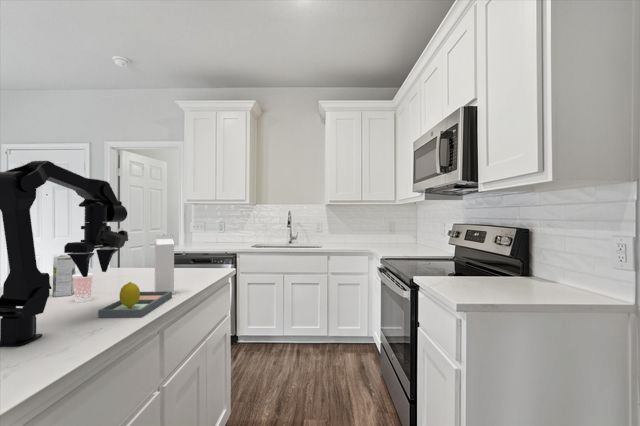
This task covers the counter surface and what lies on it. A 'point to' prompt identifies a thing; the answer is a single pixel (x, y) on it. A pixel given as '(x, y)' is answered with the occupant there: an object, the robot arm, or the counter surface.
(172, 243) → the milk
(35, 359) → the counter surface
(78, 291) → the beverage cup
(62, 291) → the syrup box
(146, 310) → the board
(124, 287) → the lemon
